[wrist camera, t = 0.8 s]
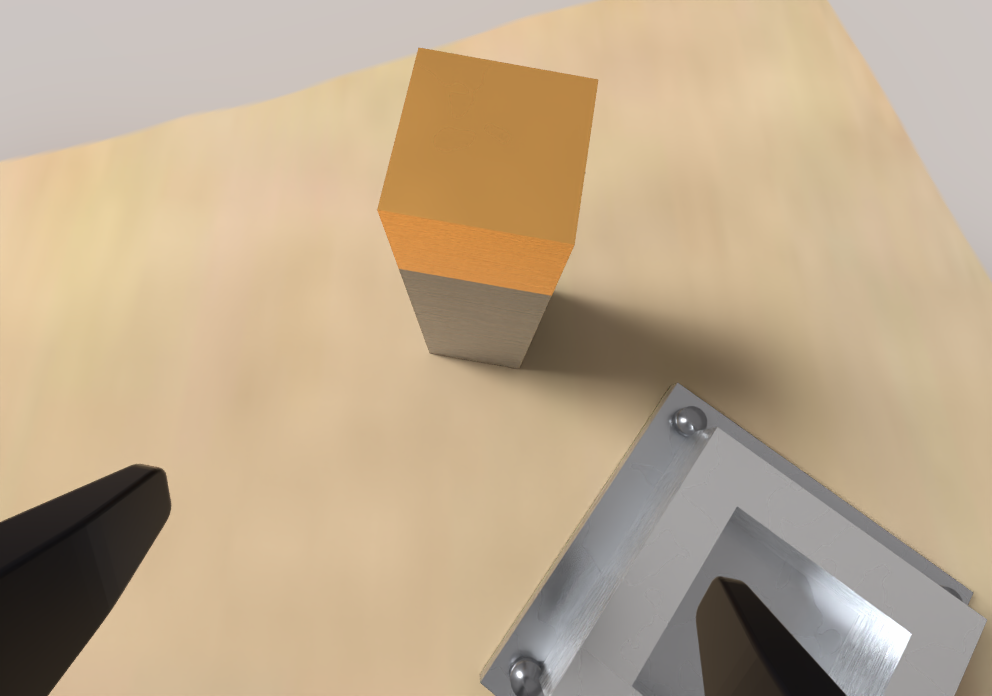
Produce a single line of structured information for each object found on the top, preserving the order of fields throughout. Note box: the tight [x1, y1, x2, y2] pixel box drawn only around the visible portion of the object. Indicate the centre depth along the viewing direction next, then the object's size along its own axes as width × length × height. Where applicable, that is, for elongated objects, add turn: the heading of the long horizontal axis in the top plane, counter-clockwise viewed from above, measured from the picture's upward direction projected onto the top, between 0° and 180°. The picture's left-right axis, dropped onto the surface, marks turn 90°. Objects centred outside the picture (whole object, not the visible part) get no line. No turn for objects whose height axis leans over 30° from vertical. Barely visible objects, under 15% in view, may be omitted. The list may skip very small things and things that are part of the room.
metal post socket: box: [480, 383, 987, 696], centre depth 18 cm, size 14×14×3 cm
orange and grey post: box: [377, 48, 598, 369], centre depth 17 cm, size 4×4×12 cm
